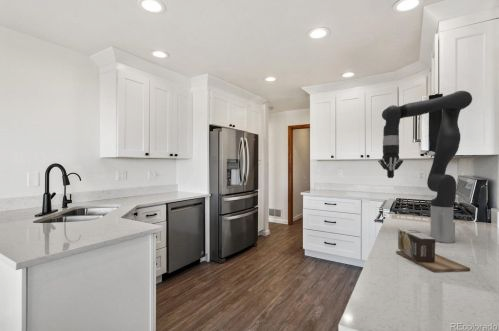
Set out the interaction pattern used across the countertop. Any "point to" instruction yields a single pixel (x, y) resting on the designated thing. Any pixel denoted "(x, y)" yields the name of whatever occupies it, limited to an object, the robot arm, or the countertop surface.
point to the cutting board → (438, 264)
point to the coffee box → (416, 245)
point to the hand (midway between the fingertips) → (390, 177)
